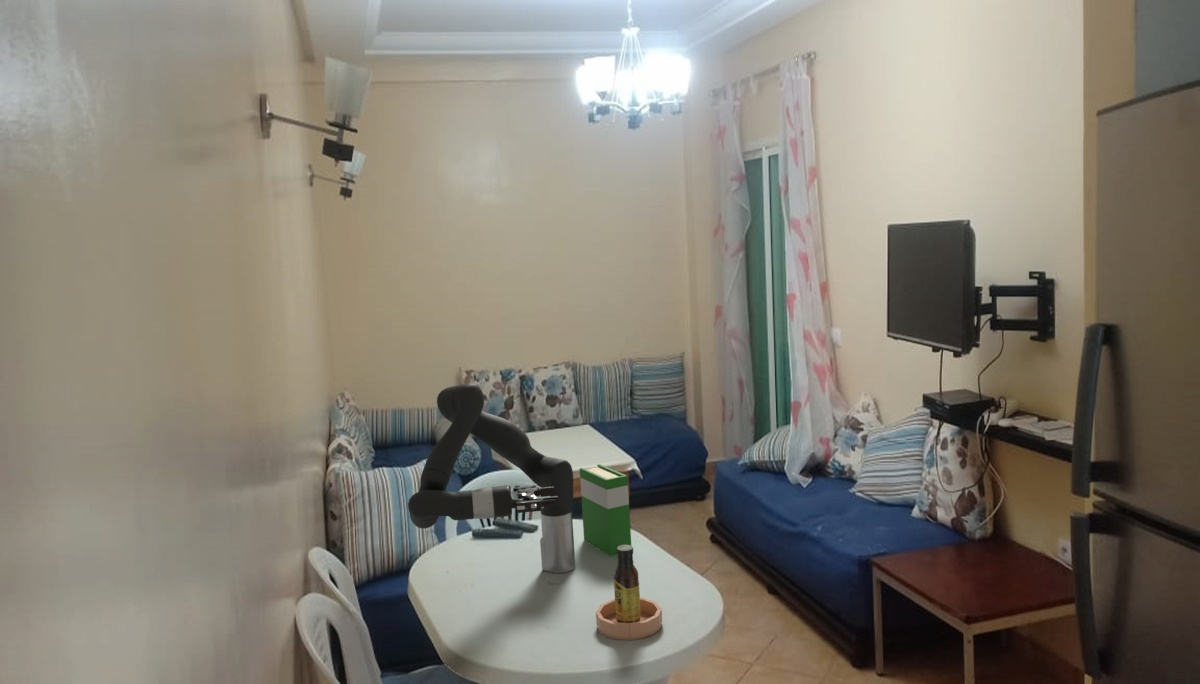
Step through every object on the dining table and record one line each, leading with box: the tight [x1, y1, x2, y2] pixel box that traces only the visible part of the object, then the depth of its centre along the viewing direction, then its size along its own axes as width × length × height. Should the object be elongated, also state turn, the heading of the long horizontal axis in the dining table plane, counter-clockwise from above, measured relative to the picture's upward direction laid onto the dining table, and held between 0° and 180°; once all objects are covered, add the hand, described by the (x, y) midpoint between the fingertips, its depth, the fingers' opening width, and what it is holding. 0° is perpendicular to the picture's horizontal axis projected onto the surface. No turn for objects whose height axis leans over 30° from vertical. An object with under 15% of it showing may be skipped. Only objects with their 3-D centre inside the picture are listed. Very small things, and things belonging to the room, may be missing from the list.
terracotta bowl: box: [595, 597, 663, 641], centre depth 226 cm, size 16×16×4 cm
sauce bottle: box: [613, 544, 641, 623], centre depth 225 cm, size 7×6×20 cm
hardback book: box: [579, 463, 632, 557], centre depth 283 cm, size 18×7×24 cm, turn 28°
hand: (556, 495), depth 225 cm, fingers open, 8 cm apart
